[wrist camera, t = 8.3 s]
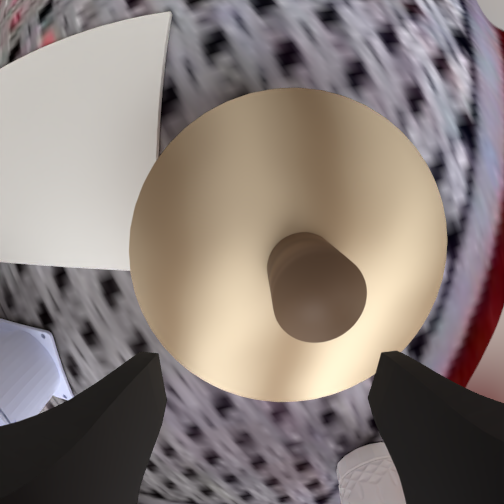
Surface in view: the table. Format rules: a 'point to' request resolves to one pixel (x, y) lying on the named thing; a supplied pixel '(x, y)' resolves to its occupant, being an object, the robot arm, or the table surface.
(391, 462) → the white cup
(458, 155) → the table surface
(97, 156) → the white square mat
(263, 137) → the oak lid
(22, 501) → the robot arm
